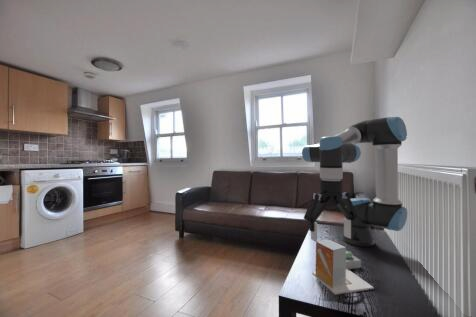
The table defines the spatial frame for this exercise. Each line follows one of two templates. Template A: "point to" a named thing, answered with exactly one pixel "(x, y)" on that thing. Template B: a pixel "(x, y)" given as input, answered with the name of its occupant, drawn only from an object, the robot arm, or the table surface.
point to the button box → (353, 263)
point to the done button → (348, 255)
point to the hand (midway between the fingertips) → (331, 238)
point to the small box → (331, 263)
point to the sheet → (349, 284)
